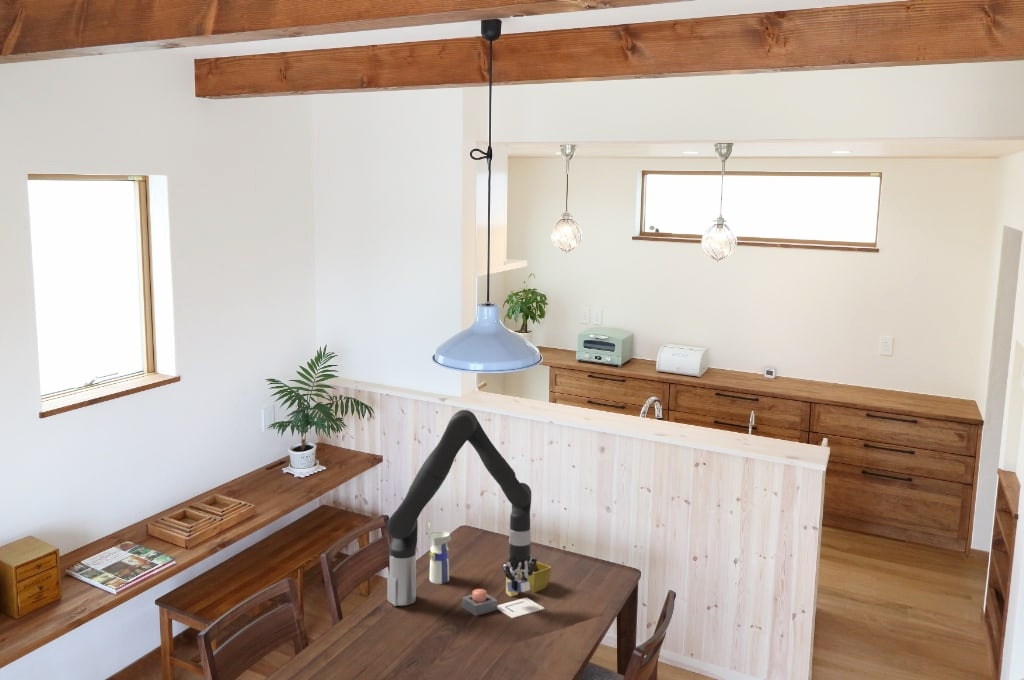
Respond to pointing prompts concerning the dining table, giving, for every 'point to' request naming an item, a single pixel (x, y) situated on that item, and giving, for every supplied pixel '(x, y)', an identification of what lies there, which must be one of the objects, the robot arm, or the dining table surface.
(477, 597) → the button
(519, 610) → the paper pad
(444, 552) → the water bottle
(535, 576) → the flower pot
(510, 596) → the ochre marker
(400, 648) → the dining table surface
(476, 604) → the button housing
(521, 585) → the block
